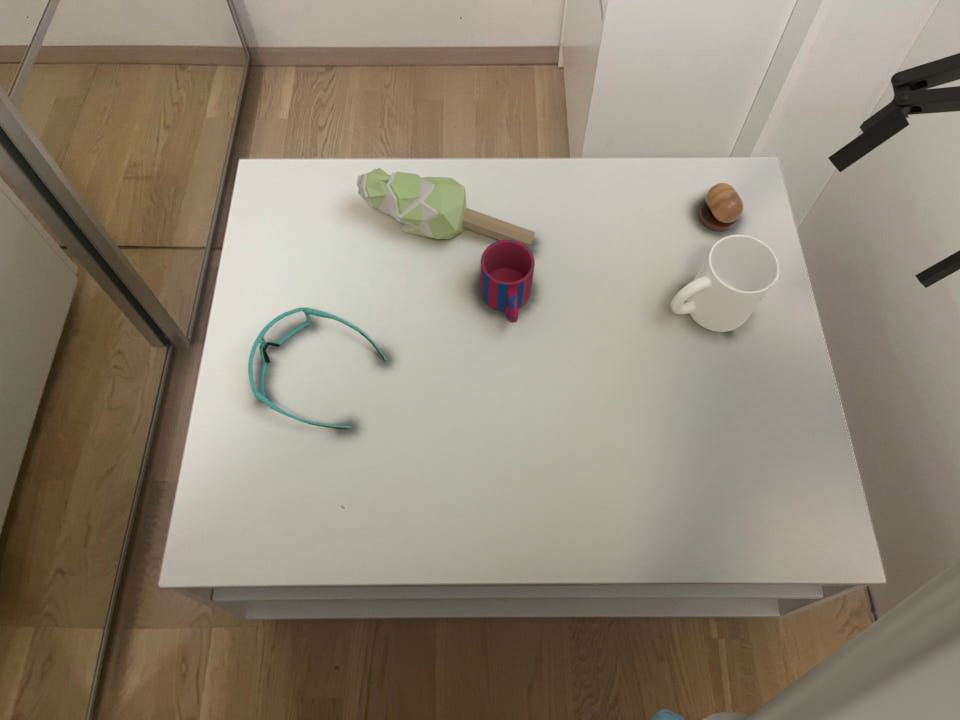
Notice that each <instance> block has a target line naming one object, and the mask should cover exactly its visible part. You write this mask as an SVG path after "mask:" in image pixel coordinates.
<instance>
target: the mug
mask: <svg viewBox="0 0 960 720" xmlns="http://www.w3.org/2000/svg"><path fill="white" fill-rule="evenodd" d="M776 255H777V254H775V252H774V251H773V250H772V248H771V247H770V246H769V245H767V244H766V243H765V242H764V241H762V240H760V239H758V238H756V237H753V236H751V235H746V234H732V235H727V236H725V237H722V238H720V239H718V240H717V241H716V242H715V243H714V244H713V245H712V246H711V248H710V250H709V252H708V253H707V255H706V257H705V259H704V260H703V263H702V265H701V266H700V268H699V270H698V272H697V274H696V276H695V277H694V279H693V280H692V281H691V282H689V283H687V284H686V285H685V286H684V287H682V288H681V289H680V290H679V291H678V292H677V293H676V294H675V295H674V297H673V298H672V299H671V303H670V309H671V311H672V312H673V313H674V314H676V315H688V314H689V316H690V317H691V318H692V320H694V321H695V323H696V324H698V325H699V326H701V327H702V328H704V329H706V330H708V331H711V332H717V333H725V332H732V331H734V330H736V329H738V328H739V327H741V326H742V325H744V323H745V322H747V320H748V319H749V318H750V317H751V315H752V314H753V313H754V311H755V310H756V309H757V307H758V306H759V304H761V302H762V301H763V299H764V298H765V297H766V296H767V294H768V293H769V291H770V290H771V289H772V288H773V286H774V285H775V283H776V282H777V280H778V278H779V276H780V262H779V260H778V257H777V256H776Z"/></svg>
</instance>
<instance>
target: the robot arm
mask: <svg viewBox="0 0 960 720" xmlns="http://www.w3.org/2000/svg"><path fill="white" fill-rule="evenodd" d="M955 81H960V52H957V53H955V54H951V55H949V56H944V57H942V58H939V59H936V60H933V61H929V62H926V63H923V64H920V65H916V66H913V67H911V68H906V69H904V70H901V71H898V72H896V73H894V74H893V75H892V76H891V78H890V83H891V87H892V90H893V98H892V100H891V101H890V102H889V103H888V104H886V105H885V106H883V107H882V108H881V109H879V110H878V111H877V112H875V113H873V114H872V115H871V116H870V117H868V118H867V119H865V120H864V121H863V122H862V123H861V125H860V126H859V129H860V130H861V134H859V135H858V136H857V137H855V138H854V139H853V140H851V141H849V142H848V143H847V144H845V145H844V146H843V147H841V148H840V149H838V150H837V151H835V152H834V153H833V154H831V155H830V156H829V157H828V160H829V161H830V162H831V164H832V165H833V166H834V167H835V168H836V169H837V171H838V172H839V173H842V172H843V171H845V170H846V169H848V168H849V167H850V166H852V165H853V164H855V163H856V162H857V161H859V160H860V159H862V158H864V157H865V156H866V155H867V154H869V153H871V152H872V151H874V150H875V149H876V148H878V147H880V145H882V144H883V143H885V142H886V141H888V140H890V139H891V138H893V137H894V136H895V135H897V134H898V133H899V132H901V131H902V130H904V129H905V128H907V127H908V126H910V123H909V120H908V119H909V118H910V117H909V116H913V115H927V114H937V113H952V112H960V85H958V86H957V85H956V86H948V87H947V86H946V87H939V86H942V85H945V84H949V83H952V82H955ZM935 87H936V88H935ZM959 270H960V249H959V250H957V251H956V252H953V253H952V254H950V255H949V256H946V257H945V258H943V259H942V260H940V261H938V262H936V263H934V264H933V265H931V266H929V267H928V268H926V269H924V270H922V271H920V272H919V273H917V274H915V275H914V276H915V277H916V279H917V280H918V281H919V283H920V284H921V285H922V286H923V287H924V288H925V289H927V288H929V287H931V286H932V285H934V284H936V283H938V282H940V281H941V280H943V279H945V278H947V277H949V276H950V275H953V274H954V273H956V272H958V271H959ZM650 720H687V718H686V717H685V716H683V715H682V714H677V713H674V712H673V711H671V710H670V709H666V708H665V709H660V710H659V711H657V712H656V713H655V714H654V715H653V716H652V717H651V719H650ZM701 720H960V557H959V558H958V559H957V560H954V562H953V563H951V564H950V565H948V566H947V567H946V568H944V569H943V570H942V571H940V572H939V573H938V574H936V575H935V576H934V577H933V578H931V579H930V580H928V581H926V582H925V583H924V584H923V585H921V586H920V587H919V588H918V589H916V590H915V591H913V592H912V593H911V594H910V595H908V596H907V597H906V598H904V599H903V600H902V601H900V602H898V604H897V605H894V606H893V607H892V608H891V609H889V610H888V611H887V612H886V613H884V614H883V615H882V616H880V617H879V618H877V619H876V620H874V622H873V623H871V624H869V625H868V626H867V627H865V628H864V629H863V630H862V631H860V632H859V633H858V634H856V635H854V637H852V638H851V639H849V640H848V641H847V642H845V643H844V644H843V645H841V646H840V647H839V648H838V649H836V650H835V651H834V652H832V653H831V654H829V655H828V656H827V657H825V659H823V660H821V661H820V662H819V663H818V664H816V665H814V667H812V668H811V669H810V670H808V671H807V672H806V673H804V674H802V676H800V677H799V678H798V679H796V680H795V681H794V682H792V683H791V684H790V685H788V686H787V687H786V688H784V689H783V690H781V691H780V692H779V693H778V694H776V695H775V696H773V697H772V698H771V699H769V700H768V701H767V702H765V703H764V704H763V705H762V706H760V707H759V708H757V709H756V710H755V711H754V712H752V713H751V714H746V713H740V712H736V711H721V712H716V713H712V714H710V715H707V716H705V717H704V718H702V719H701Z"/></svg>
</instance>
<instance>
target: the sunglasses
mask: <svg viewBox="0 0 960 720" xmlns="http://www.w3.org/2000/svg"><path fill="white" fill-rule="evenodd" d="M301 312H302V313H304V315H305V319H306V321H305V322H303V323H301V324H300V325H298V326H297V327H294V328H293V329H292V330H290V331H289V332H288V333H286V334H285V335H284V336H283V337H281V338H280V339H279V340H278V341H277V342H275V341H268V340H267V341H266V340H265V335H266V334H267V333H268V331H269V330H270V329H271V328H272V327H273V326H274V325H275V324H276V323H278V322H279V321H281V320H282V319H284V318H287V317H288V316H291V315H294V314H295V313H301ZM311 316H315V317H318V318H325V319H330V320H334V321H336V322H340V323H341V324H343V325H345V326H347V327H349V328H350V329H352V330H354V331H355V332H357V333H359V334H360V335H361V336H362V337H364V338H365V339H366V340H367V341H368V342H369V343H370V344H371V345H372V347H373V348H374V349H375V350H376V351H377V352H378V353H379V355H380V356H381V358H382V359H383V360H384V361H386V362H388V358H387V357H386V356H385V354H384V353H383V352H382V350H381V349H380V348H379V347H378V345H377V343H375V342H374V340H372V338H371V337H370V336H369V335H367V333H365V332H364V331H363V330H361V329H360V328H359V327H358V326H355V325H354V324H352V323H350V322H348V321H346V320H344V319H343V318H340V317H338V316H336V315H333V314H331V313H328V312H326V311H322V310H319V309H318V310H317V309H314V308H311V307H296V308H293V309H290V310H288V311H284V312H283V313H281V314H279V315H277V316H276V317H274V318H273V319H272V320H271V321H270V322H268V323H267V324H266V325H265V326H264V327H263V328H262V329H261V331H260V332H259V333H258V334H257V337H256V338H255V340H254V342H253V344H252V347H251V350H250V352H249V356H248V366H247V367H248V368H247V370H248V371H247V373H248V378H249V383H250V387H251V391H252V393H253V396H254V397H255V398H256V399H258V400H259V401H260V402H261V403H263V404H264V405H265V406H266V407H268V408H270V409H271V410H273V411H276V412H277V413H279V414H281V415H283V416H286V417H289V418H291V419H294V420H296V421H298V422H301V423H304V424H308V425H312V426H318V427H323V428H331V429H345V430H346V429H352V428H353V426H351V425H339V424H329V423H322V422H316V421H312V420H308V419H305V418H300V417H298V416H296V415H293V414H291V413H289V412H287V411H285V410H284V409H282V408H280V406H277V405H275V404H274V403H273V402H271V401H270V400H269V399H268V398H267V397H266V392H265V383H266V382H265V381H266V373H267V369H268V364H269V363H271V360H270V357H269V354H268V351H267V348H268V347H269V346H272V347H276V348H280V346H281V345H282V344H283V343H284V342H285V341H287V340H288V339H289V338H290V337H292V336H293V335H294V334H296V333H298V332H299V331H301V330H303V329H304V328H306V327H308V326H311V324H312V320H311V319H312V318H311ZM258 348H259V354H260V359H261V362H262V368H261V371H260V379H259V391H258V389H257V387H256V384H255V380H254V369H253V368H254V359H255V354H256V352H257V349H258Z"/></svg>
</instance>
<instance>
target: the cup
mask: <svg viewBox="0 0 960 720" xmlns="http://www.w3.org/2000/svg"><path fill="white" fill-rule="evenodd" d="M530 249H531V248H528V247H527V246H525V245H524V244H522V243H520V242H518V241H514V240H496V241H494V242H493V243H491V244H489V245H488V246H487V247H486V248H485V249H484V251H483V252H482V255H481V257H480V295H481V298H482V300H483V301H484V303H485V304H486V305H487V306H488V307H490V308H491V309H493V310H495V311H498V312H503V313H504V312H505V313H506V317H507V320H508V322H509V323H516V322H517V321H518V320H519V310H520V309H521V308H522V307H524V306H525V305H526V304H527V303H528V301H529V299H530V297H531V295H532V294H531V293H532V287H533V279H534V272H535V264H536V262H535V261H536V260H535V256H534V254H533V251H531V250H530Z"/></svg>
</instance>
